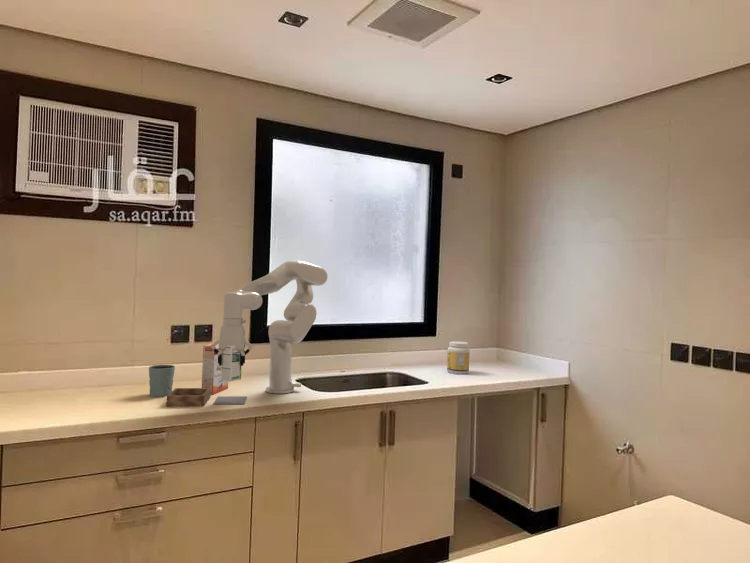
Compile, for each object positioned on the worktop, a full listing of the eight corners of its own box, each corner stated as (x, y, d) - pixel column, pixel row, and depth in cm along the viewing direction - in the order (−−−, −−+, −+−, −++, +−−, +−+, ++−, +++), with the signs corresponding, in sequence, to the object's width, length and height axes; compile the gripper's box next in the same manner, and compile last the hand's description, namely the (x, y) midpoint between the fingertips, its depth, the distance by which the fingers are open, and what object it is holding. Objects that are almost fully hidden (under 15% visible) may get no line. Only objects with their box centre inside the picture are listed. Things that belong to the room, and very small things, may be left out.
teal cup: (142, 396, 216) (143, 367, 215) (160, 391, 225) (161, 363, 225) (162, 398, 212) (162, 369, 212) (179, 393, 222) (180, 365, 221)
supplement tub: (444, 370, 295) (445, 340, 295) (465, 370, 297) (466, 341, 296) (449, 374, 283) (450, 343, 283) (471, 374, 284) (472, 344, 284)
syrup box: (230, 381, 208) (231, 345, 207) (220, 379, 211) (221, 344, 211) (241, 379, 212) (242, 344, 212) (231, 377, 215) (232, 342, 215)
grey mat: (247, 397, 219) (247, 396, 219) (244, 404, 207) (244, 403, 207) (218, 397, 217) (218, 396, 217) (213, 404, 205) (213, 403, 205)
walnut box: (210, 397, 216) (210, 388, 216) (203, 406, 202) (204, 396, 202) (175, 397, 214) (175, 388, 214) (166, 406, 200) (166, 396, 200)
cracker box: (213, 395, 221) (214, 346, 221) (200, 394, 222) (202, 345, 222) (229, 388, 235) (230, 342, 234) (217, 387, 236) (218, 341, 236)
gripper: (255, 322, 216) (254, 363, 216) (212, 321, 214) (210, 363, 214) (253, 323, 209) (252, 367, 209) (209, 322, 206) (207, 366, 207)
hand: (231, 365), depth 211 cm, fingers closed on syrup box, 8 cm apart
